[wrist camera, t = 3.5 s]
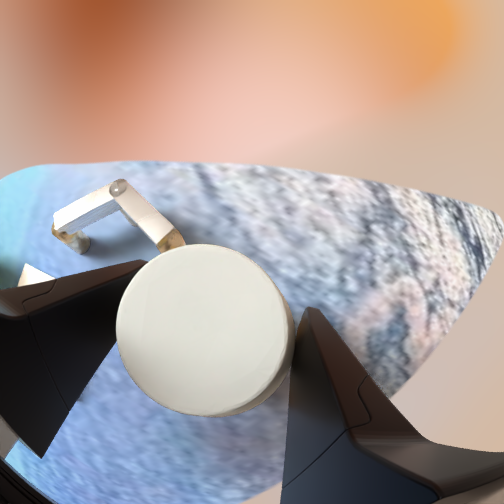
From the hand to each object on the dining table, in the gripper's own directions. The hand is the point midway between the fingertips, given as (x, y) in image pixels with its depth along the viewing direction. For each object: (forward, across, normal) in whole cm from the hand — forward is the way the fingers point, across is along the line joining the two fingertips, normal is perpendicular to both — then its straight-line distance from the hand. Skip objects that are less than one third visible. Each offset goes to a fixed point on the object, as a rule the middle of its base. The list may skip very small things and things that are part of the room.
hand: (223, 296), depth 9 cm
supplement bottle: (+4, 0, +6) cm, 7 cm away
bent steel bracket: (+6, +8, +3) cm, 11 cm away
